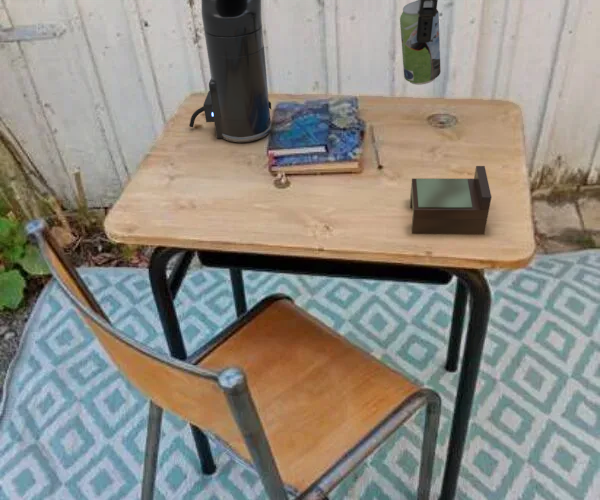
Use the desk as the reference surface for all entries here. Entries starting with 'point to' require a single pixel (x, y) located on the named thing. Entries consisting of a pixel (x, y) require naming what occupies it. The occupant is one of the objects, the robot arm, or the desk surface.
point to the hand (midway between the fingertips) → (422, 33)
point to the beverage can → (419, 47)
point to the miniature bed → (450, 205)
